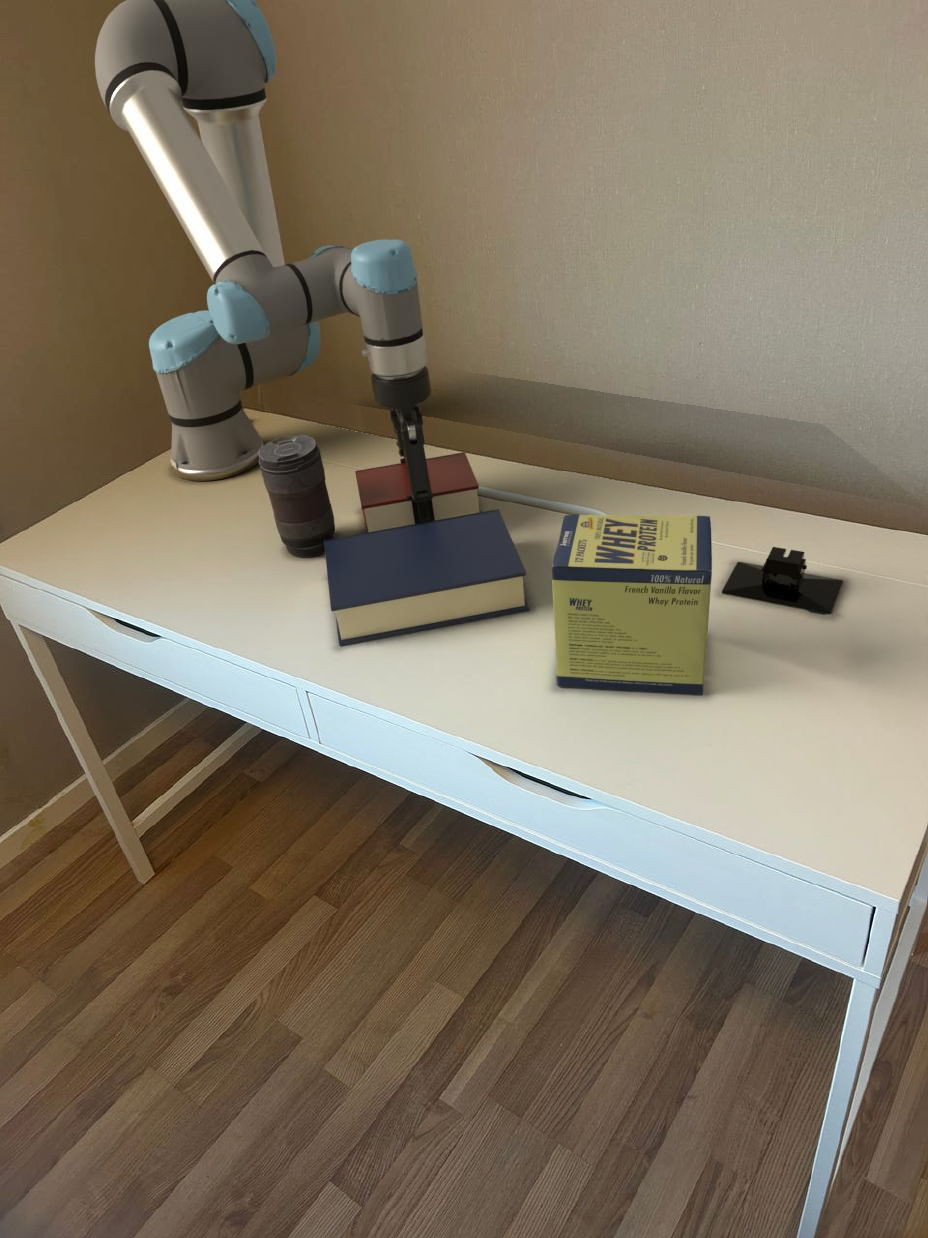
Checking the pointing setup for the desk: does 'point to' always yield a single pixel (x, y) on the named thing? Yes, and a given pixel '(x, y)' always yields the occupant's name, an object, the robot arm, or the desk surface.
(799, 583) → the build plate
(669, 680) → the protein box
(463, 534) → the encyclopedia
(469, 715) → the desk surface
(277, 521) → the camera lens
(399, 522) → the dictionary
